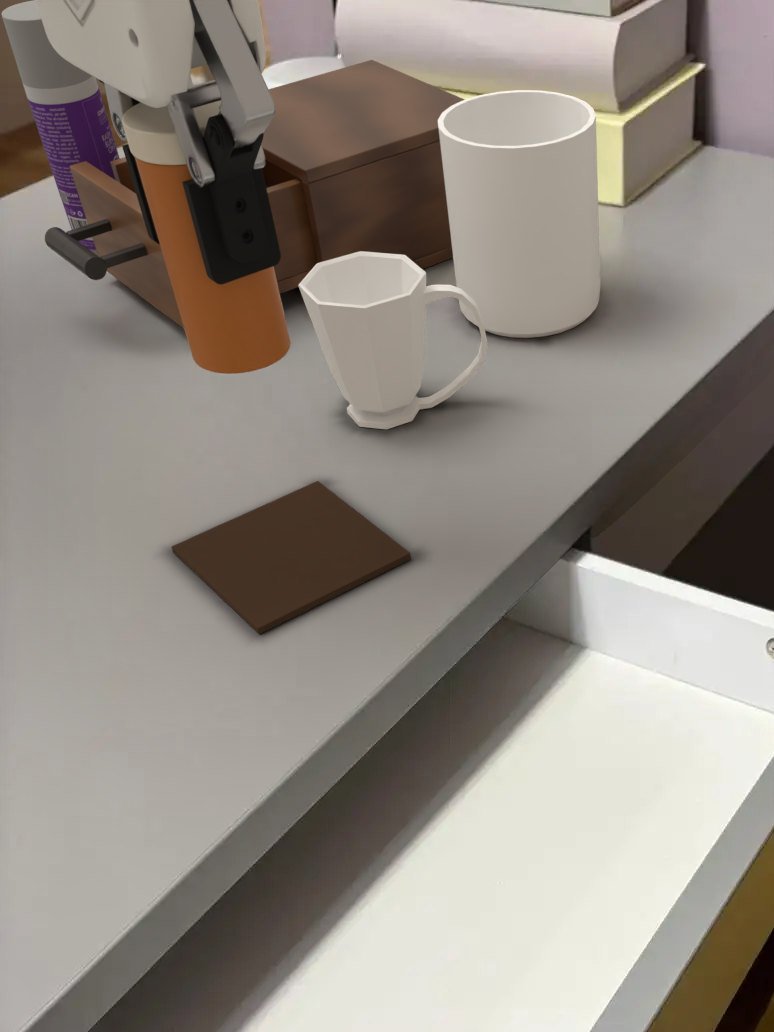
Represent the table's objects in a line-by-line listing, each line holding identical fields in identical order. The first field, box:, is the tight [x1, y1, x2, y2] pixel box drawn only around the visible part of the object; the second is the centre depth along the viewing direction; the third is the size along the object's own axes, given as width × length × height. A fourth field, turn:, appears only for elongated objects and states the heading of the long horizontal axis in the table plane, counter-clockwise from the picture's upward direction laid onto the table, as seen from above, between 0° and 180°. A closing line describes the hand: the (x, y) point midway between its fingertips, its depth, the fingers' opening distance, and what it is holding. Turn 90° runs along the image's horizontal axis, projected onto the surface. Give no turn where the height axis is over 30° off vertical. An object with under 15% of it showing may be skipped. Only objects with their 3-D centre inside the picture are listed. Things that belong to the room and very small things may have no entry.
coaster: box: [170, 480, 412, 635], centre depth 65 cm, size 9×9×1 cm
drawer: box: [44, 156, 318, 329], centre depth 82 cm, size 18×13×7 cm
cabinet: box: [261, 59, 465, 270], centre depth 87 cm, size 15×15×9 cm
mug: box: [438, 89, 601, 339], centre depth 79 cm, size 10×12×12 cm
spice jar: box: [122, 100, 291, 375], centre depth 53 cm, size 5×5×10 cm
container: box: [1, 0, 120, 256], centre depth 86 cm, size 5×5×15 cm
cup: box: [298, 251, 489, 430], centre depth 71 cm, size 7×10×8 cm
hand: (214, 248), depth 53 cm, fingers closed on spice jar, 4 cm apart
